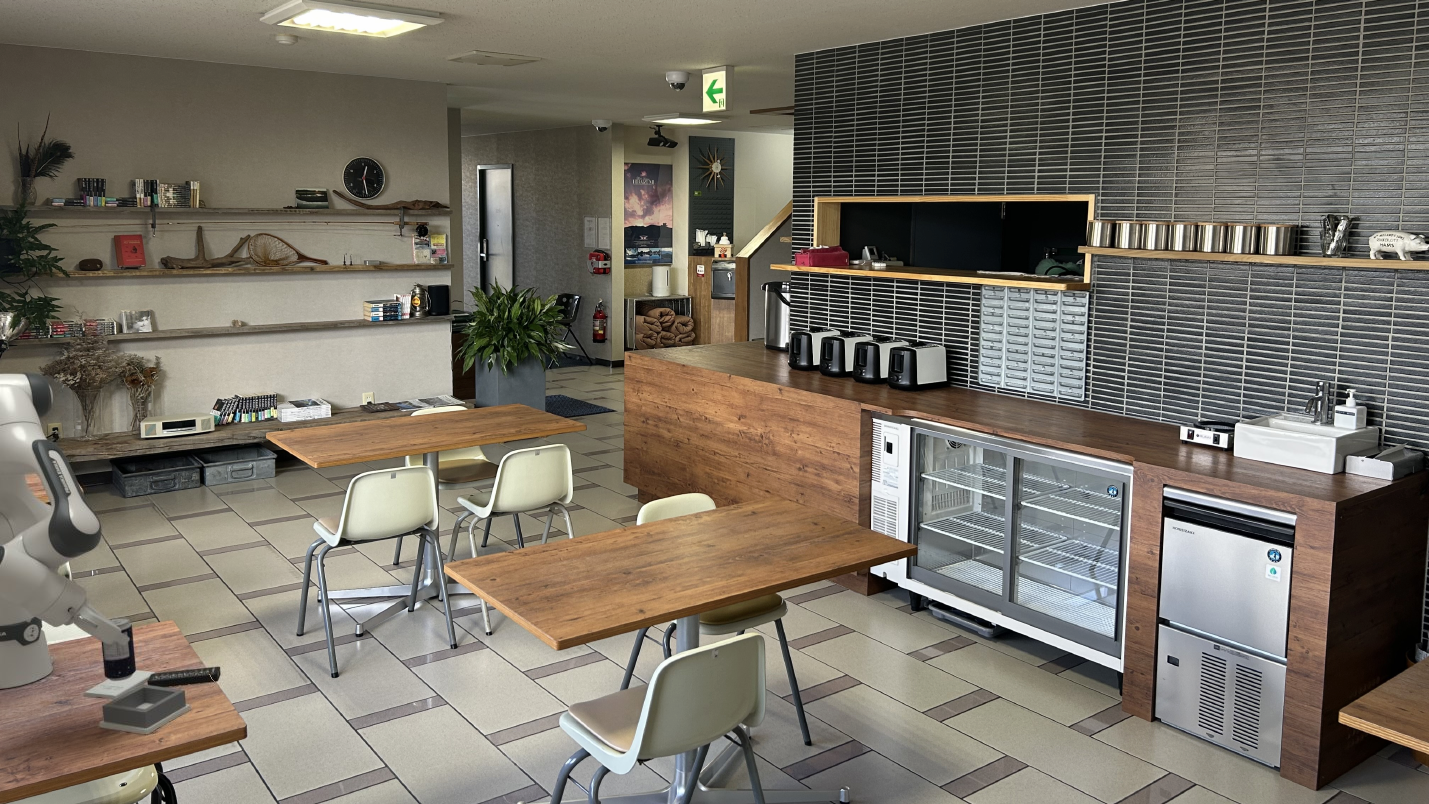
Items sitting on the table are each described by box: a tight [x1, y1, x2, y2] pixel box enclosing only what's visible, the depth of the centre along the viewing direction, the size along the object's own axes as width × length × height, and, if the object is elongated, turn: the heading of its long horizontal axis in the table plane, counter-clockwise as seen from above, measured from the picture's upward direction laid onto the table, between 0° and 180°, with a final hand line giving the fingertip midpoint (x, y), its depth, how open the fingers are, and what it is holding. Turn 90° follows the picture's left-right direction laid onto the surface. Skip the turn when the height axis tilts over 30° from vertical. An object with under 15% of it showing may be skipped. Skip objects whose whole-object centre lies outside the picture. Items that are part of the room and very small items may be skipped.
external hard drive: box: [83, 669, 156, 700], centre depth 236 cm, size 2×8×12 cm
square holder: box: [98, 683, 192, 735], centre depth 221 cm, size 12×12×4 cm
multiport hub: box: [146, 666, 222, 688], centre depth 239 cm, size 4×14×2 cm, turn 107°
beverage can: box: [100, 617, 137, 681], centre depth 217 cm, size 6×6×12 cm
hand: (120, 636), depth 217 cm, fingers closed on beverage can, 6 cm apart
